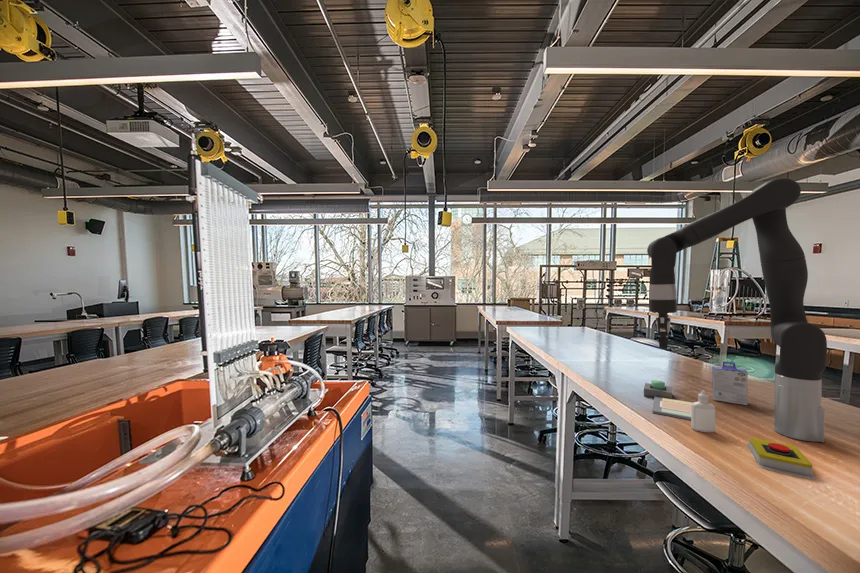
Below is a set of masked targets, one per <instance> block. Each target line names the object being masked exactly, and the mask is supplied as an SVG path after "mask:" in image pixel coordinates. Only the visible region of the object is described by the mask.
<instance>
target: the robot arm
mask: <svg viewBox="0 0 860 573" xmlns="http://www.w3.org/2000/svg"><path fill="white" fill-rule="evenodd" d="M801 191H802V188H801V186H800V184H799V183H798V182H797V181H795V180H793V179H790V178H786V177H781V178H774V179H770V180H768V181H766V182H764V183H762V184H761V185H759V186H757V187H756V188H753V190H752V191H751V192H750V193H749V194H748V195H747V196H746V197H744V198H742V199H740V200H738V201H736V202H734V203H732V204H730V205H728V206H726V207H723V208H721V209H719V210H716V211H714V212H712V213H710V214H706V215H705V216H703V217H700V218H699V219H696V220H694V221H691V222H690V223H688V224H686V225H683V226H682V227H680V228H678V230H675V231H672V232H671V233H669V234H667V235H666V234H665V236H662V237H659V238H656V239H655V240H652V241H651V242H650V243H649V245H648V246H647V249H646V250H647V251H646V252H647V255H648V256H649V257H650V258H651V259H650V260H651V262H650V263H651V268H650V270H649V276H648V277H649V287H648V288H649V289H648V307H649V308H648V309H649V312H650V313H655V314H658V317H656V318H655V324H656V331H657V337H658V346H659V349H661V350H668V347H669V346H668V345H669V333H670V330H671V322H672V321H671V317H669V316H670V315H669V314H675V313H677V311H678V303H677V302H678V300H677V299H678V298H677V297H678V295H677V288H676V287H677V286H676V272H675V271H676V270H675V268H676V262H677V253H679V252H682V251H683V250H685V249H688V248H691V247H693V246H694V247H695V246H696V245H699V244H701V243H703V242H705V241H708V240H710V239H712V238H714V237H716V236H718V235H720V234H722V233H724V232H726V231H728V230H730V229H731V228H734V227H735V226H737V225H740V224H742V223H744V222H746V221H748V220H751V219H752V222H753V225H754V227H755V228H754V229H755V233H756V239H757V240H756V241H757V245H758V246H757V247H758V254H759V258H760V259H759V261H760V267H761V272H762V277H763V281H764V287H765V291H766V296H767V299H768V304H769V312H770V336H771V338H772V341H773V342H774V343H775V345H776V346H778V347H779V359H778V362H776V363H775V365H774V407H773V408H774V413H773V414H774V420H773V424H774V427H773V430H774V431H775V432H776V433H778V434H780V435H783V436H786V437H787V438H792V439H795V440H800V441H805V442H813V443H814V442H820V443H824V442H825V408H824V407H823V406H822V392H823V391H822V389H823V387H822V382H823V381H822V379H823V373H824V371H825V370H826V365H827V354H828V353H827V351H828V343H827V341H828V340H827V337H826V336H827V335H826V334H825V332H824V331H823V329H822V328H821V327H818V326H817V325H815V324H813V323H810V322H808V318H807V314H806V311H805V307H804V299H805V298H804V297H805V293H806V289H807V284H808V279H809V278H808V276H809V273H808V272H809V270H808V266H807V265H808V264H807V260H806V255H805V252H804V250H803V248H802V246H801V245H800V243H799V241H798V240H797V239H796V237H795V236H794V235H793V232H791V230H790V228H789V225H788V219H787V210H786V209H787V208H789V207H791V206H792V205H794V203H796V202H797V201H798V199H799V197H800V196H801Z"/></svg>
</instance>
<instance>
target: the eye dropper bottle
mask: <svg viewBox="0 0 860 573" xmlns="http://www.w3.org/2000/svg"><path fill="white" fill-rule="evenodd" d="M709 398H710V396H709V395H708V394H707V393H706V391H705V390H704V389H703V390H701V391H700V393H698V394H697V401H694V402H693V403H692V405H691V420H690V421H691V422H690V426H691V429H693V430H694V431H697V432H700V433H701V432H702V433H715V432H716V421H717V420H716V415H717V414H716V407H715V405H713V404H712V403H709Z"/></svg>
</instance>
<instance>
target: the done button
mask: <svg viewBox="0 0 860 573" xmlns="http://www.w3.org/2000/svg"><path fill="white" fill-rule="evenodd" d="M650 384H651V388H652V389H659V390H665V386H666V383H665V381H662V380H657V379H655V380H654V379H653V380H651V381H650Z"/></svg>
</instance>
